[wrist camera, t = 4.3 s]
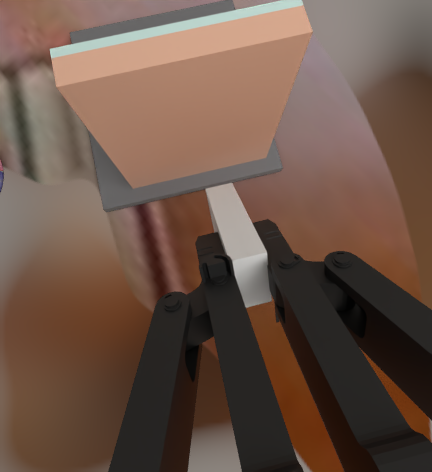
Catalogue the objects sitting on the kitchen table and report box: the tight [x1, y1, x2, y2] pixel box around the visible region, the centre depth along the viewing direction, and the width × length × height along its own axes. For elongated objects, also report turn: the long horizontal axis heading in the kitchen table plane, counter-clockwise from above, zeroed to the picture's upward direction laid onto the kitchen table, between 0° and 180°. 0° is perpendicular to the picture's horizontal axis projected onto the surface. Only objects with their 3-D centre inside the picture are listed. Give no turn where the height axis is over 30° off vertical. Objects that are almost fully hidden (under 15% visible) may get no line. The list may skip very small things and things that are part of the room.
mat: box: [70, 0, 283, 212], centre depth 30 cm, size 18×16×1 cm
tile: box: [50, 0, 313, 189], centre depth 22 cm, size 2×12×14 cm, turn 104°
